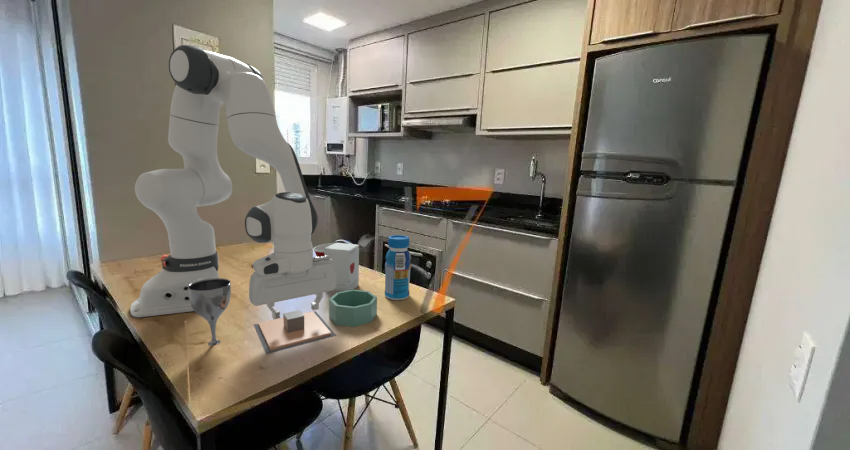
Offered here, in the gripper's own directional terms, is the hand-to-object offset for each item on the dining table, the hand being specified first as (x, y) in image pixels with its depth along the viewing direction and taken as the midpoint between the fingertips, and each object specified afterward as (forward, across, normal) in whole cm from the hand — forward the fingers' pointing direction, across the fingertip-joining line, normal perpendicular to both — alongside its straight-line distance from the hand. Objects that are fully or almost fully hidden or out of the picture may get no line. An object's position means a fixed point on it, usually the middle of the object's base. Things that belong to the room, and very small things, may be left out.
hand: (296, 313), depth 85 cm
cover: (+4, +1, 0) cm, 4 cm away
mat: (+5, +1, 0) cm, 5 cm away
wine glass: (+5, +18, -4) cm, 19 cm away
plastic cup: (+5, -22, -36) cm, 43 cm away
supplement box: (+5, -22, -23) cm, 32 cm away
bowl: (+5, -15, 0) cm, 16 cm away
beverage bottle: (+6, -34, -8) cm, 36 cm away
